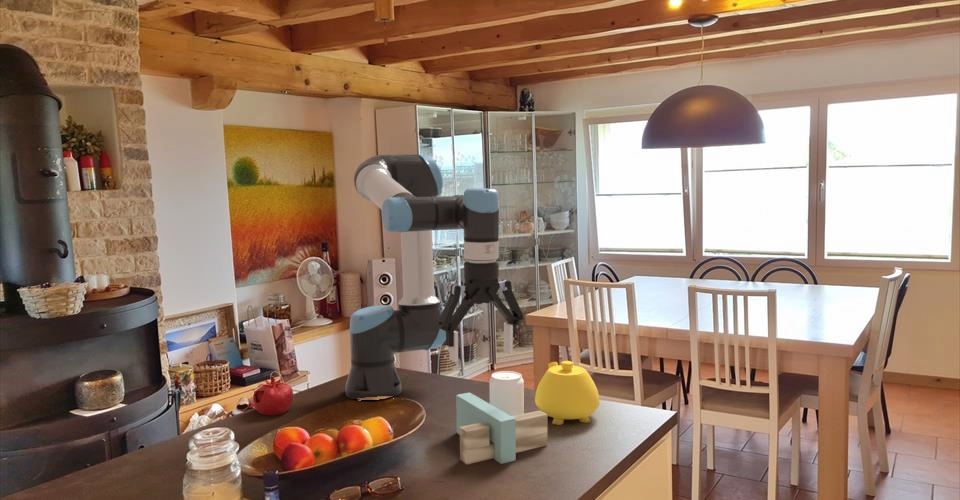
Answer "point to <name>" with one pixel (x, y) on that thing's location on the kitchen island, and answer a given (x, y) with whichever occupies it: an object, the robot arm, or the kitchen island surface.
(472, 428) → the birch rail
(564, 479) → the kitchen island surface
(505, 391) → the beverage can
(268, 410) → the pomegranate
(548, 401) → the teapot
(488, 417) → the teal board
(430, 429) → the kitchen island surface
